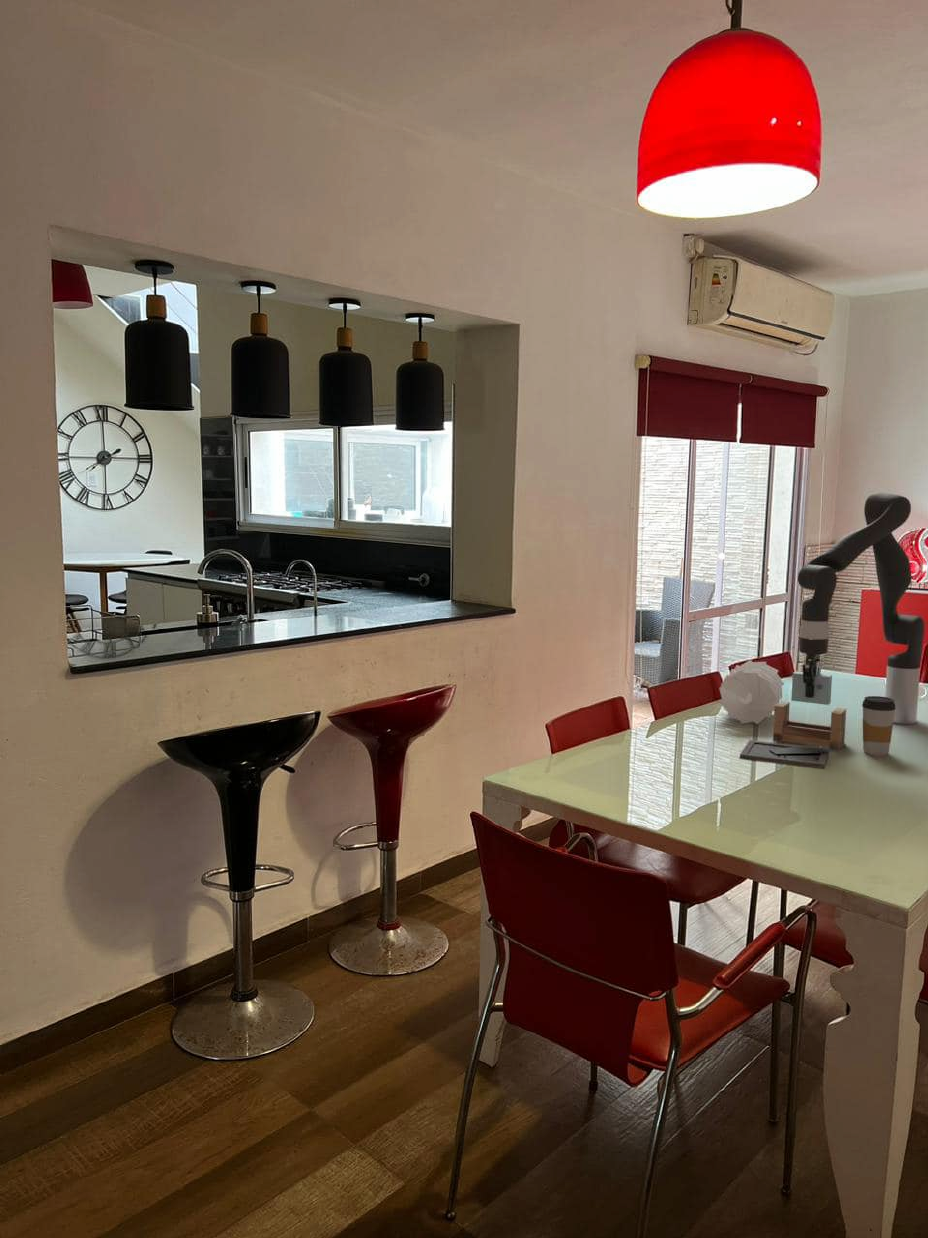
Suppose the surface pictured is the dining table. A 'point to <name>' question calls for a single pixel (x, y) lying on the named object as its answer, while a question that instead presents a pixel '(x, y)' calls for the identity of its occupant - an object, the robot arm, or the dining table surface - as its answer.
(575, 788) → the dining table surface
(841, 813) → the dining table surface
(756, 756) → the picture frame
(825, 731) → the track
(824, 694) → the door panel
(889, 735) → the coffee cup
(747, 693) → the spiral staircase
